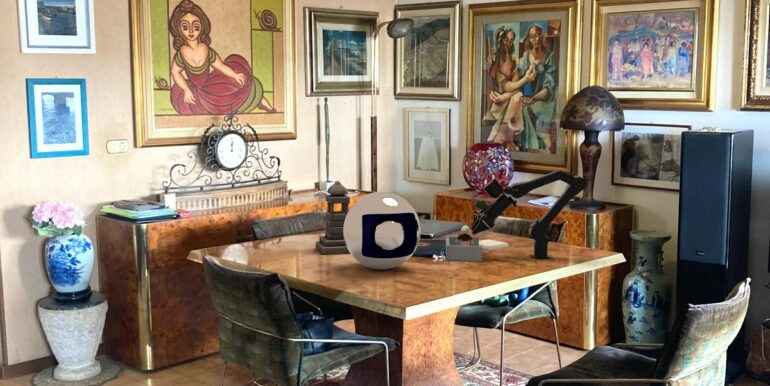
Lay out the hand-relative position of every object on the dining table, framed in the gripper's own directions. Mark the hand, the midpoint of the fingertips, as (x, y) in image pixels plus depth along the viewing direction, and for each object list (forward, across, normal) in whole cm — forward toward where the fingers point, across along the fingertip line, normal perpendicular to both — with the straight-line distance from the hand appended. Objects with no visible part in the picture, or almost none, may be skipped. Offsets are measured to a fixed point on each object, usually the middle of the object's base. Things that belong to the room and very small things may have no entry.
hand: (471, 232), depth 373 cm
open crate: (+9, 0, +5) cm, 10 cm away
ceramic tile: (+1, -23, +13) cm, 26 cm away
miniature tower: (+48, -4, -32) cm, 58 cm away
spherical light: (+33, +31, -18) cm, 48 cm away
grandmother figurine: (+9, 0, +5) cm, 11 cm away
